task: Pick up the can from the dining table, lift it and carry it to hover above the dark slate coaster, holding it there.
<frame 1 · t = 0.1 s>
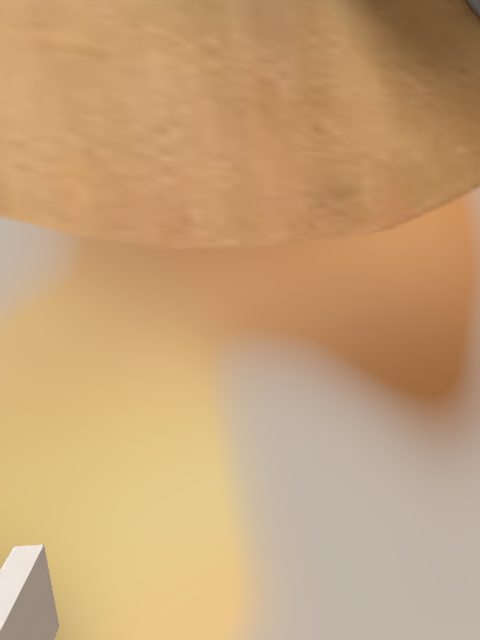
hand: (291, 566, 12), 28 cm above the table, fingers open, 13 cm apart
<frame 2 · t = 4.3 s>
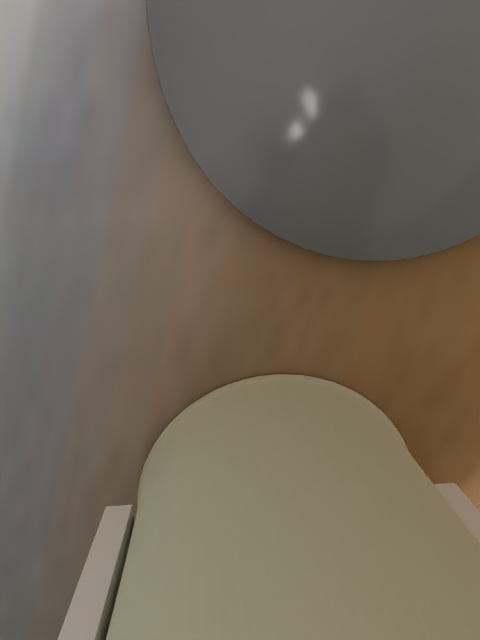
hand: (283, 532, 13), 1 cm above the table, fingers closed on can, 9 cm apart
can: (276, 496, 14), on the table, touching gripper
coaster: (388, 22, 11), on the table
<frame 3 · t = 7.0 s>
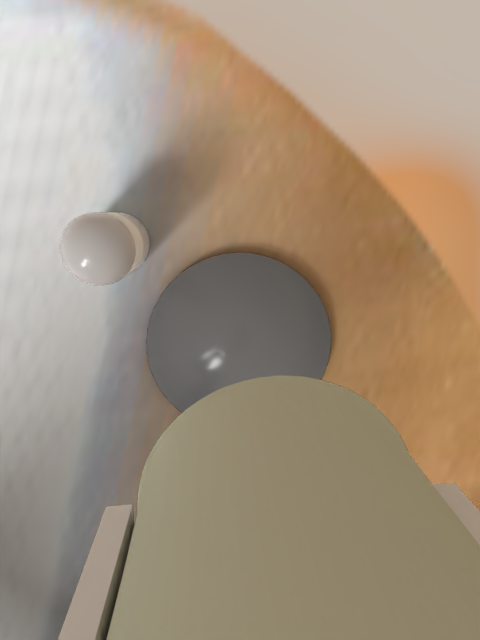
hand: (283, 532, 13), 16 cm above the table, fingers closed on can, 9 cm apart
salt shaker: (119, 242, 26), on the table
can: (276, 497, 14), point 14 cm above the table, touching gripper
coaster: (239, 343, 28), on the table
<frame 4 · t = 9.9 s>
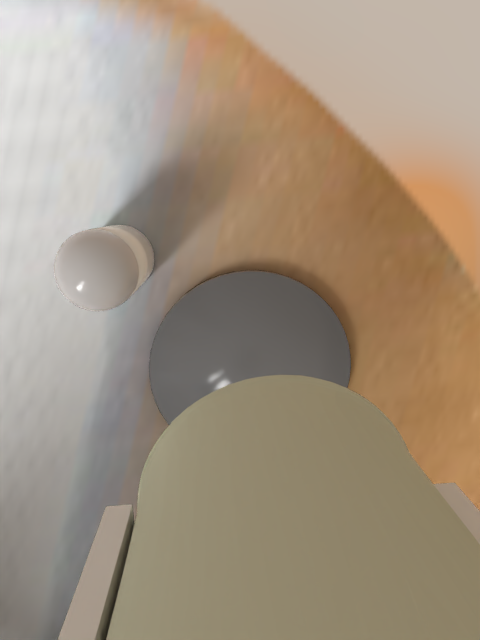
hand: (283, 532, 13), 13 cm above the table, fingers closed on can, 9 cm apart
salt shaker: (121, 257, 24), on the table
can: (276, 496, 14), point 12 cm above the table, touching gripper
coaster: (250, 368, 26), on the table
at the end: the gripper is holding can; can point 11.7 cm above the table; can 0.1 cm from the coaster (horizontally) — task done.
